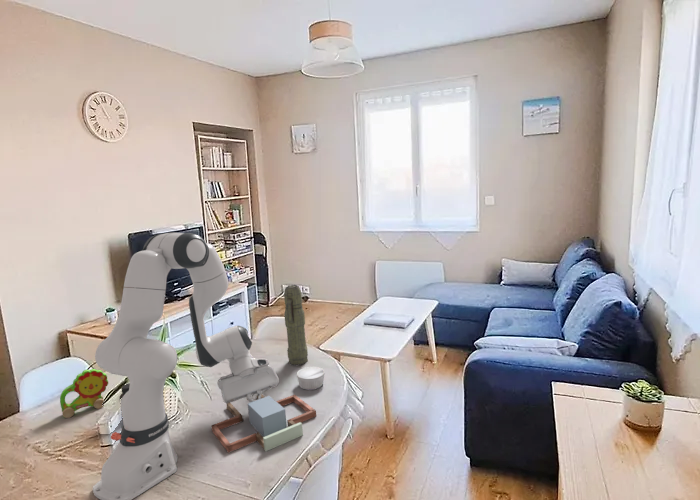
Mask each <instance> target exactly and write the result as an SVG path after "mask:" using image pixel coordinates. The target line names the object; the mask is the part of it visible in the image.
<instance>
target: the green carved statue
mask: <svg viewBox="0 0 700 500" xmlns="http://www.w3.org/2000/svg"><path fill="white" fill-rule="evenodd" d="M283 297H284V299H283V300H284V306H285V307H284V310H285V311H284V313H283V315H284V325H285V327H286V336H287V359H288V364H289V365H290V366H294V365H295V366H296V365H298V366H302V365H305V364H307V363H308V361H309V360H308V359H309V358H308V356H309V354H308V346H307V343H306V332H305V325H306V318H305V311H304V308H303V298H302V291H301V289H300V285H299V286H298V285H297V284H291V285H287V286H286V287H284V292H283Z"/></svg>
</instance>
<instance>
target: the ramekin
mask: <svg viewBox="0 0 700 500" xmlns="http://www.w3.org/2000/svg"><path fill="white" fill-rule="evenodd" d="M325 374H326V372H325V370H324V368H322V367H318V366H305V367H302V368H300V369H299V370H298V371H297V372H296V378H297V382H298V385H299V386H298V387H300V388H301V389H303V390H307V391H309V390H310V391H311V390H316V389H319V388H321V386H322V385H323V384H324V380H325Z"/></svg>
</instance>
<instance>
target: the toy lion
mask: <svg viewBox="0 0 700 500" xmlns="http://www.w3.org/2000/svg"><path fill="white" fill-rule="evenodd" d="M108 385H109V380H108V376H107V373H105V372H103V371H102V370H101V369H96V368H91V369H84V370H83V371H82V372H80V373H78V374H77V375H76V376H75V378H74V379H73V381H72V384H70V385H68V386H67V387H65V388H64V389H63V391H62V392H61V394H60V397H59V398H60V399H59V403H60V408H61V413H62V416H63V418H66V419H70V418H72V417H73V416H74V415H75V412H76V411H78V410H80V409H83V408H86V407H94V408H95V409H98V410H100V409H102V408H103V407H104V406H105V405H103V406H102V403H103V401H105V400H104V397H103V395H102V393H104V392H105V391H106V390H107V386H108ZM72 392H74V393H77V395H78V396H77V397H76V398H74V399H73V400H72V401H71V403H70V402H68V403H67V402H66V397H67V395H68V394H69V393H72Z"/></svg>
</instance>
